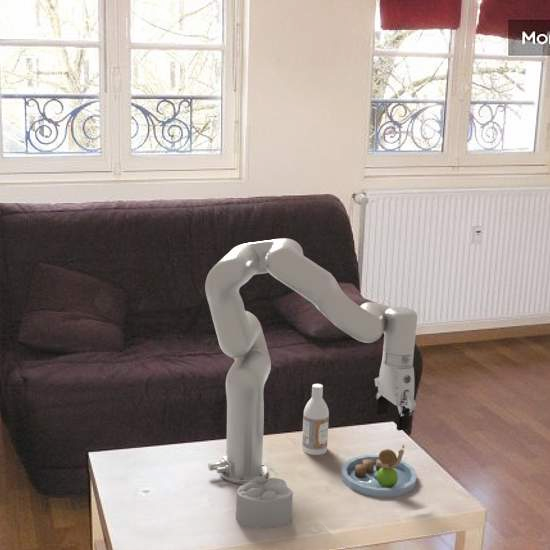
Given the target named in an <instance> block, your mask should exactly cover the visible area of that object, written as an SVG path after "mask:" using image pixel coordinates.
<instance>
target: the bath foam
mask: <svg viewBox="0 0 550 550" xmlns="http://www.w3.org/2000/svg"><path fill="white" fill-rule="evenodd" d="M311 385H312V386H311V398H310V399H309V400H308V401H307V403H306V405H305V407H304V409H303V418H302V419H303V420H302V440H301V441H302V443H301V445H302V446H301V450H302V452H304V453H305V454H307V455H310V456H311V455H312V456H320V455H321V456H322V455H324V454H325V453H327V451H328V436H329V435H328V434H329V418H330V411H329V407H328V405H327V403H326V401H325V400H324V398H323V395H324V394H323V391H324V385H323V384H321V383H313V384H311Z"/></svg>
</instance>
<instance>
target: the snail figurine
mask: <svg viewBox="0 0 550 550" xmlns="http://www.w3.org/2000/svg"><path fill="white" fill-rule="evenodd" d="M404 448H405V444H402V447H401V448H400V449H399V450H398V454H396V452H395V451H393V450H392V449H388V448H387V449H386V448H385V449H382V450H381V451H380V453H379V454H378V455H379V460H380V461H381V462H382V463H381V462H379V465H380V466H381V467H382V468H381V469H379V471H378V473H377V481H378V483H379V484H380V485H381V486H382V487H384V488H391V487H393V486H394V485H395V484H396V483H397V481H398V474H397V472H396V470H395V469H394V468H395V467H397V466H398V465H399V464H400V462H401V461H402V460H403V459H402V458H403V456H404V453H405V450H404Z"/></svg>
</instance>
